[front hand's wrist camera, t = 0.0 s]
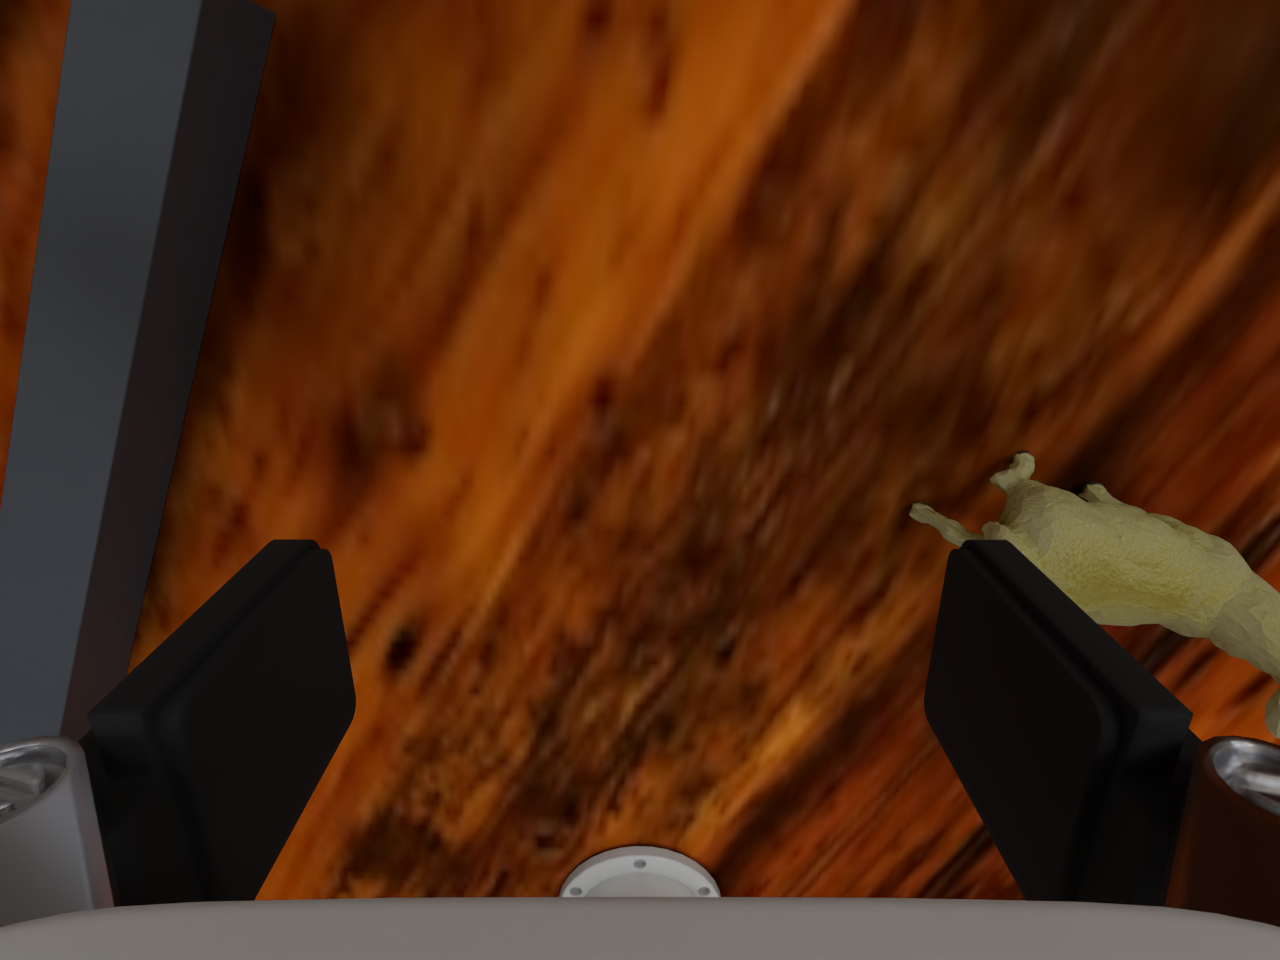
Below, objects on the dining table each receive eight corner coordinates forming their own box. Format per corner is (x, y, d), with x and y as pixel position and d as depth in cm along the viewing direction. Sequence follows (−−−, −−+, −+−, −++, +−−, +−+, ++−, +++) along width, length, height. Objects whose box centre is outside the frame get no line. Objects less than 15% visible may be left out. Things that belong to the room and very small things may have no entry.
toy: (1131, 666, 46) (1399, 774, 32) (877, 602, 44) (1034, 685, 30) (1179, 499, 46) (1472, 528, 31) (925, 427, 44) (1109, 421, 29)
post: (68, 928, 58) (5, 1009, 52) (4, 910, 57) (-67, 991, 51) (276, 13, 35) (206, -22, 29) (174, -36, 34) (81, -82, 29)
